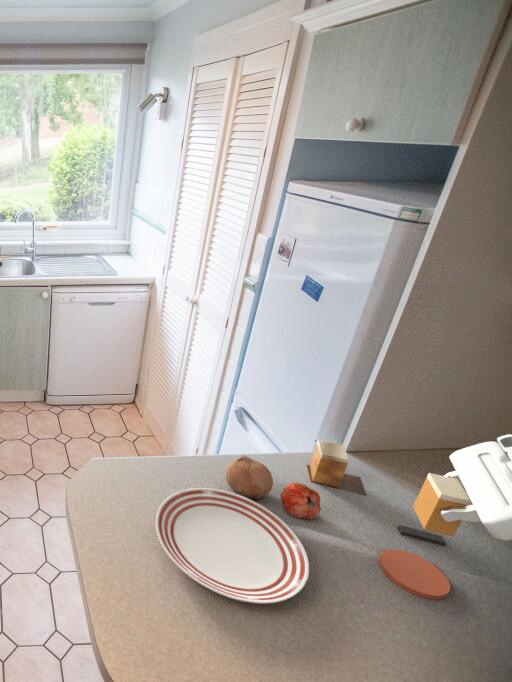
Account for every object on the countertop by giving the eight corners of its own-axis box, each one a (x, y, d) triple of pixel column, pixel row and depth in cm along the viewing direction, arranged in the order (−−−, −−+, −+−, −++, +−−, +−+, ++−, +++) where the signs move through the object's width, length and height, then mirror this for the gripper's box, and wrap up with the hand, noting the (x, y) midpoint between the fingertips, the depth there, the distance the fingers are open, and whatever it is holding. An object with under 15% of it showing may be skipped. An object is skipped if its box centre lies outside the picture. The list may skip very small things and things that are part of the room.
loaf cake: (358, 479, 109) (370, 449, 105) (366, 498, 103) (378, 467, 100) (305, 467, 113) (315, 438, 110) (309, 484, 107) (319, 454, 104)
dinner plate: (316, 639, 74) (321, 625, 73) (144, 577, 85) (146, 565, 83) (295, 522, 97) (299, 510, 96) (162, 485, 108) (164, 474, 106)
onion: (227, 493, 109) (220, 452, 110) (271, 491, 106) (264, 449, 106) (232, 507, 100) (225, 462, 101) (280, 506, 97) (273, 460, 97)
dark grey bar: (438, 540, 92) (442, 535, 92) (443, 549, 90) (446, 543, 90) (320, 509, 100) (322, 504, 100) (322, 517, 98) (324, 511, 98)
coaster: (436, 563, 87) (438, 560, 87) (457, 608, 79) (460, 604, 78) (372, 546, 91) (374, 542, 91) (387, 586, 83) (388, 582, 82)
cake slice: (440, 513, 83) (457, 478, 80) (453, 537, 78) (472, 501, 75) (412, 506, 84) (428, 472, 81) (423, 529, 80) (441, 494, 76)
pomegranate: (269, 510, 103) (288, 515, 94) (274, 477, 105) (293, 480, 95) (305, 520, 101) (328, 526, 92) (310, 487, 103) (332, 490, 93)
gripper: (589, 538, 63) (466, 559, 71) (528, 457, 79) (434, 482, 88) (559, 501, 63) (440, 526, 72) (504, 428, 79) (412, 456, 88)
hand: (436, 501), depth 80 cm, fingers closed on cake slice, 6 cm apart
